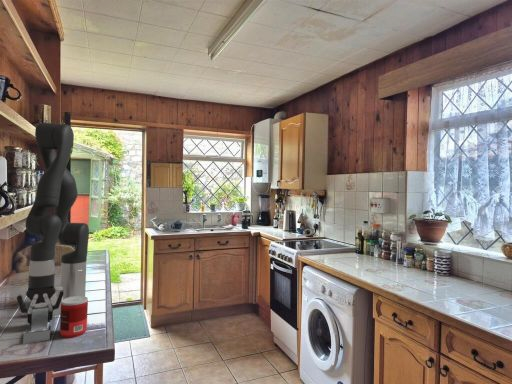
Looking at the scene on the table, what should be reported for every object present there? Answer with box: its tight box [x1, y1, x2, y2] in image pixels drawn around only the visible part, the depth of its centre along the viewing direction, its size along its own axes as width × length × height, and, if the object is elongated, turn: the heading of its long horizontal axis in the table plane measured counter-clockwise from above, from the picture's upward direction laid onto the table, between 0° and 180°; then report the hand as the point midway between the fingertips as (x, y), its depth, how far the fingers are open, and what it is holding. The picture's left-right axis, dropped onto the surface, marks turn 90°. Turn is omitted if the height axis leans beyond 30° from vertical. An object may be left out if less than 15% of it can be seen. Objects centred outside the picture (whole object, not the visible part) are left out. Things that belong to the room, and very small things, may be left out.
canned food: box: [59, 296, 89, 339], centre depth 110 cm, size 8×8×11 cm
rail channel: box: [22, 325, 52, 345], centre depth 107 cm, size 9×7×3 cm
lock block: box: [30, 303, 49, 332], centre depth 115 cm, size 6×5×7 cm
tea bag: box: [50, 286, 63, 317], centre depth 126 cm, size 4×7×10 cm, turn 115°
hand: (40, 322), depth 115 cm, fingers closed on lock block, 4 cm apart
